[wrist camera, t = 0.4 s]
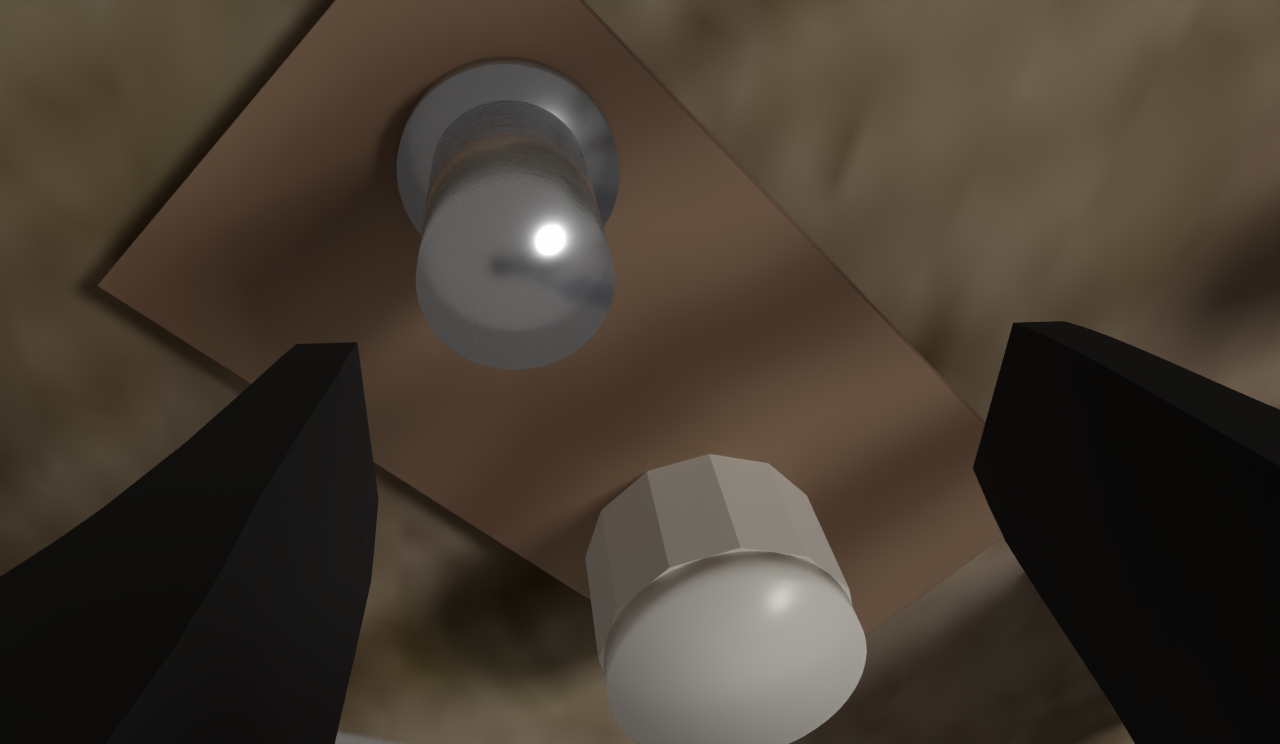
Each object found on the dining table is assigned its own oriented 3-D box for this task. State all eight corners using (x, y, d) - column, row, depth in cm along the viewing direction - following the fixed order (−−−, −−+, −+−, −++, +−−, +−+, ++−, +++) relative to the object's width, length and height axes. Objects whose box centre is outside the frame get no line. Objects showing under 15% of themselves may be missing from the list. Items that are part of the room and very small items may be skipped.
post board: (1035, 475, 25) (1176, 649, 20) (753, 682, 28) (813, 880, 23) (450, -140, 16) (433, -105, 11) (115, 263, 18) (-25, 441, 13)
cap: (855, 536, 24) (916, 658, 20) (693, 658, 25) (725, 792, 22) (712, 415, 21) (754, 534, 18) (541, 560, 23) (551, 694, 19)
